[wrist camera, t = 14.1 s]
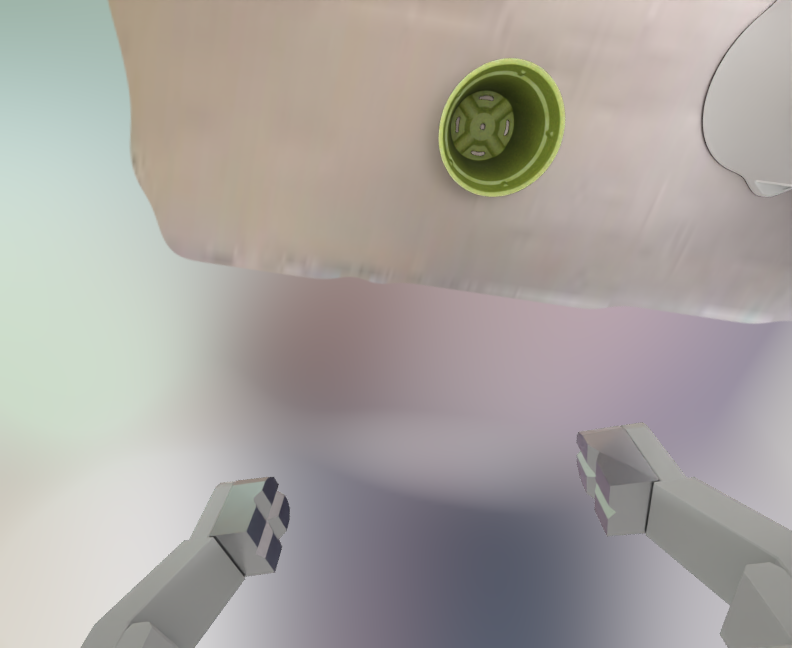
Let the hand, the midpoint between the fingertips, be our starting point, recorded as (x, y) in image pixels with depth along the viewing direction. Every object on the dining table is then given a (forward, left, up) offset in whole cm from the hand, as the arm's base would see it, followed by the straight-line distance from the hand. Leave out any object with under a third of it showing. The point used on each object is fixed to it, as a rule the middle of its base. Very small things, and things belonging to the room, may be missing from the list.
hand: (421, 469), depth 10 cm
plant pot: (-8, -5, -34) cm, 36 cm away
